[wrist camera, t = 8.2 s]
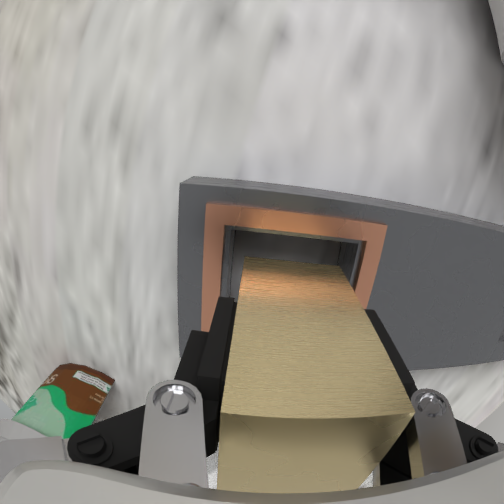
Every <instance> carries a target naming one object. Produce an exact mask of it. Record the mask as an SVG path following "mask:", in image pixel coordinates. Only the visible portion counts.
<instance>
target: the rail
mask: <svg viewBox="0 0 504 504" xmlns="http://www.w3.org/2000/svg"><path fill="white" fill-rule="evenodd" d="M235 230H242V231H252V232H261V233H270V234H280V235H289V236H298V237H306V238H315V239H324V240H332V241H340V242H342V244H341V249H340V254H339V259H338V264H337V266H340V268H341V269H342V271H343V273H344V275H345V276H346V278H347V280H348V282H349V283H350V285H351V287H352V289H353V290H354V292H355V294H356V296H357V298H358V299H359V301H360V303H361V305H362V307H363V308H364V309H373V310H375V311H376V313H377V315H378V317H379V318H380V320H381V322H382V323H383V325H384V327H385V329H386V330H387V332H388V334H389V336H390V337H391V339H392V341H393V343H394V345H395V346H396V348H397V350H398V352H399V354H400V356H401V357H402V359H403V361H404V363H405V365H406V367H407V369H408V370H420V369H434V368H445V367H455V366H464V365H472V364H480V363H487V362H494V361H500V360H504V226H500V225H497V224H493V223H489V222H485V221H481V220H477V219H473V218H469V217H465V216H460V215H456V214H452V213H447V212H443V211H438V210H434V209H429V208H424V207H419V206H414V205H409V204H404V203H399V202H394V201H388V200H383V199H377V198H371V197H365V196H359V195H353V194H347V193H340V192H334V191H327V190H320V189H312V188H305V187H297V186H289V185H281V184H272V183H263V182H253V181H243V180H233V179H221V178H209V177H195V176H193V177H191V178H189V179H187V180H185V181H183V182H181V183H180V190H179V215H178V325H179V350H180V357H181V358H182V355H183V352H184V350H185V347H186V344H187V341H188V338H189V335H190V333H191V331H192V330H198V331H205V332H209V330H210V326H211V323H212V319H213V315H214V312H215V308H216V304H217V301H218V297H219V296H220V297H229V298H230V284H231V272H232V259H233V247H234V235H235Z"/></svg>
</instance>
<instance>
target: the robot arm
mask: <svg viewBox="0 0 504 504" xmlns="http://www.w3.org/2000/svg"><path fill="white" fill-rule="evenodd" d="M236 309H237V302H234V298H229V297H220V296H219V297H218V301H217V304H216V308H215V312H214V315H213V319H212V323H211V326H210V330H209V332H205V331H198V330H192V331H191V333H190V335H189V338H188V341H187V344H186V347H185V350H184V352H183V355H182V358H181V361H180V364H179V367H178V370H177V372H176V375H175V378H174V380H167V381H163V382H160V383H158V384H156V385H155V386H153V387H152V388H151V390H150V391H149V392H148V395H147V399H146V405H144V406H141V407H138V408H136V409H133V410H131V411H128V412H126V413H123V414H120V415H118V416H115V417H112V418H109V419H107V420H104V421H101V422H98V423H95V424H92V425H89V426H86V427H83V428H81V429H79V430H77V431H76V432H74V433H73V434H72V435H71V437H70V438H67V439H62V437H61V436H53V437H43V438H30V439H10V440H4V441H1V442H0V504H504V444H503V443H499V442H498V443H497V444H496V442H495V440H494V439H493V438H492V437H491V436H489V435H488V434H486V433H484V432H482V431H480V430H478V429H476V428H474V427H471V426H469V425H467V424H465V423H463V422H461V421H459V420H457V419H455V418H454V415H453V412H452V409H451V406H450V404H449V402H448V400H447V399H446V397H445V396H444V395H442V394H441V393H439V392H438V391H435V390H433V389H427V388H426V389H420V390H418V389H417V387H416V385H415V382H414V380H413V378H412V376H411V374H410V372H409V370H408V369H407V367H406V365H405V363H404V361H403V359H402V357H401V356H400V354H399V352H398V350H397V348H396V346H395V345H394V343H393V341H392V339H391V337H390V336H389V334H388V332H387V330H386V329H385V327H384V325H383V323H382V322H381V320H380V318H379V317H378V315H377V313H376V311H375V310H373V309H364V310H365V312H366V314H367V316H368V318H369V320H370V321H371V323H372V325H373V327H374V329H375V331H376V333H377V335H378V336H379V338H380V340H381V342H382V344H383V346H384V348H385V350H386V352H387V354H388V356H389V358H390V360H391V362H392V364H393V366H394V368H395V370H396V372H397V374H398V376H399V378H400V380H401V382H402V384H403V386H404V388H405V391H406V393H407V395H408V397H409V399H410V401H411V403H412V406H413V408H414V410H415V414H414V415H413V417H412V418H411V420H410V421H409V423H408V424H407V426H406V427H405V429H404V430H403V432H402V433H401V435H400V436H399V437H398V439H397V440H396V442H395V443H394V444H393V446H392V447H391V448H390V450H389V451H388V452H387V454H386V455H385V456H384V457H383V459H382V460H381V461H380V463H379V464H378V465H377V466H376V468H375V469H374V470H373V487H368V488H361V489H353V490H344V491H333V492H319V493H252V492H237V491H227V490H217V489H209V486H208V475H207V463H206V457H208V456H210V455H212V454H213V453H215V451H217V447H218V442H219V432H220V413H221V406H222V399H223V393H224V386H225V380H226V373H227V367H228V360H229V354H230V347H231V341H232V335H233V328H234V322H235V315H236Z"/></svg>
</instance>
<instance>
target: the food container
mask: <svg viewBox="0 0 504 504" xmlns="http://www.w3.org/2000/svg"><path fill="white" fill-rule="evenodd" d="M114 381H115V380H114V379H112V378H111V377H109V376H107V375H105V374H104V373H102V372H100V371H97V370H95V369H92V368H90V367H87V366H84V365H78V364H73V363H69V364H63V365H60V366H59V367H57V368H56V369H55V370H54V371H53V373H52V374H51V375H50V376H49V377H48V378H47V379H46V380H45V381H44V383H43V384H42V385H41V386H40V387H39V388H38V389H37V390H36V392H35V393H34V394H33V395H32V396H31V397H30V398H29V400H28V401H27V402H26V403H25V404H24V405H23V406H22V408H21V409H20V410H19V411H18V412H17V414H16V415H15V416H14V417H13V418H12V419H11V420H9V419H0V442H1V441H4V440H10V439H30V438H43V437H53V436H61V437H62V439H67V438H70V437H71V435H72V434H73V433H74V432H76V431H77V430H79V429H81V428H83V427H86V426H89V425H92V423H93V421H94V419H95V417H96V415H97V413H98V411H99V409H100V407H101V405H102V403H103V402H104V400H105V398H106V396H107V394H108V392H109V390H110V388H111V387H112V385H113V383H114Z"/></svg>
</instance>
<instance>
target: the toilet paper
mask: <svg viewBox="0 0 504 504" xmlns="http://www.w3.org/2000/svg"><path fill="white" fill-rule="evenodd" d="M488 2H489V5H490V9H491V13H492V17H493V21H494V25H495V29H496V34H497V39H498V44H499V49H500V55H501V61H502V63H503V65H504V0H488Z"/></svg>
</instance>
